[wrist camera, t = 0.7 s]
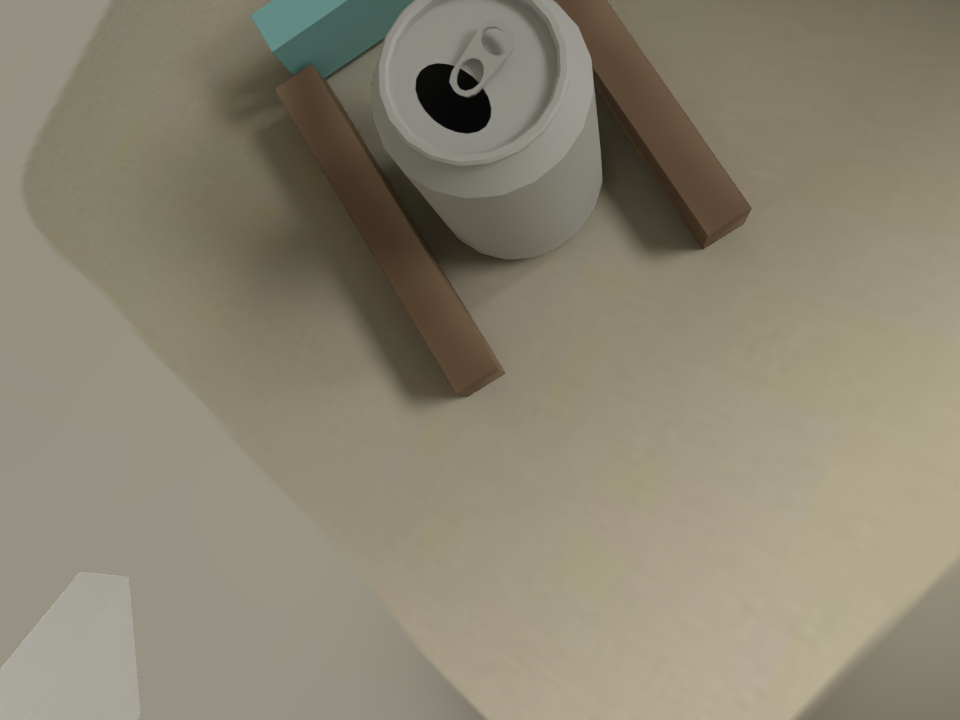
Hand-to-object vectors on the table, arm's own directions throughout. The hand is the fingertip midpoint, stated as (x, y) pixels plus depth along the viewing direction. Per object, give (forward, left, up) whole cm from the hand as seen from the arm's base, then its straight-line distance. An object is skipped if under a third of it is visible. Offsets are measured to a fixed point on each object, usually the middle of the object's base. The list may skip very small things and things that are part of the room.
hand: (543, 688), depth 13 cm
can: (-5, -15, -24) cm, 29 cm away
